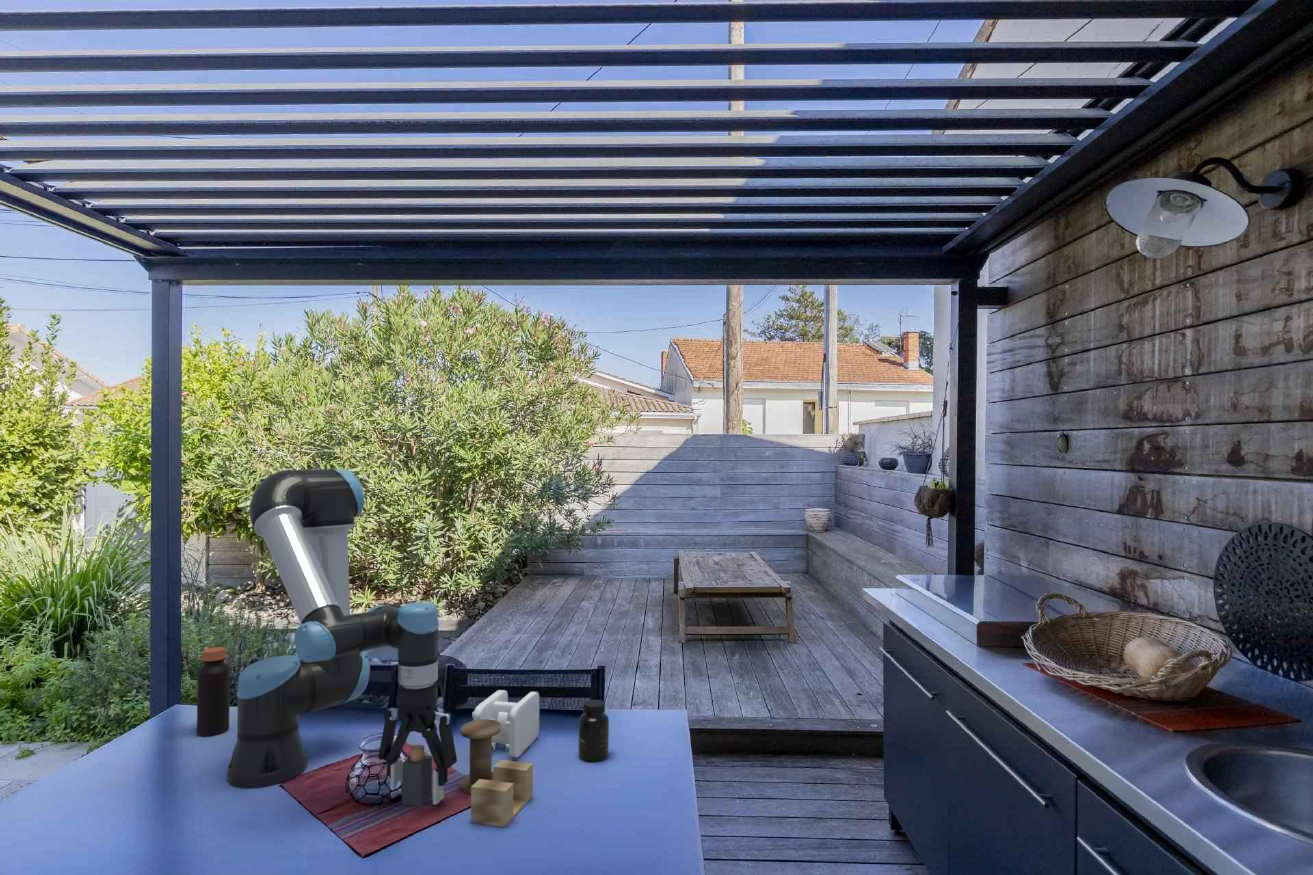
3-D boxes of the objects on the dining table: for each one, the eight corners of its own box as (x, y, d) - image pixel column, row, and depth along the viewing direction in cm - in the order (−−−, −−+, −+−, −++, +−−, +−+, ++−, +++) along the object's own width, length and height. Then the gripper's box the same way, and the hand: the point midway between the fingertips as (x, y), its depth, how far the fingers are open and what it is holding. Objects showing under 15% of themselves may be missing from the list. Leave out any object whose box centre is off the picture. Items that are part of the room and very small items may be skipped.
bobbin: (453, 791, 145) (453, 731, 146) (472, 774, 153) (472, 717, 153) (489, 796, 143) (489, 735, 144) (507, 778, 151) (507, 721, 151)
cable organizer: (514, 764, 158) (514, 711, 158) (470, 760, 160) (470, 707, 160) (540, 737, 173) (540, 689, 173) (499, 734, 175) (499, 686, 175)
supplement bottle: (572, 759, 160) (573, 705, 161) (587, 748, 167) (587, 696, 167) (600, 764, 158) (600, 710, 158) (613, 752, 164) (614, 700, 164)
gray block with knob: (402, 803, 140) (402, 750, 140) (413, 794, 144) (414, 742, 144) (420, 806, 139) (420, 752, 139) (431, 796, 143) (432, 744, 143)
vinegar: (199, 728, 178) (200, 647, 178) (230, 724, 180) (231, 644, 181) (194, 738, 171) (195, 654, 172) (227, 734, 174) (228, 651, 175)
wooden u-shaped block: (470, 822, 133) (471, 786, 133) (500, 792, 145) (500, 759, 145) (505, 827, 132) (505, 791, 132) (532, 796, 143) (532, 763, 143)
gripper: (358, 684, 141) (357, 800, 141) (456, 693, 136) (456, 814, 135) (382, 673, 148) (381, 783, 148) (476, 681, 143) (475, 795, 143)
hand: (417, 797), depth 142 cm, fingers open, 9 cm apart
